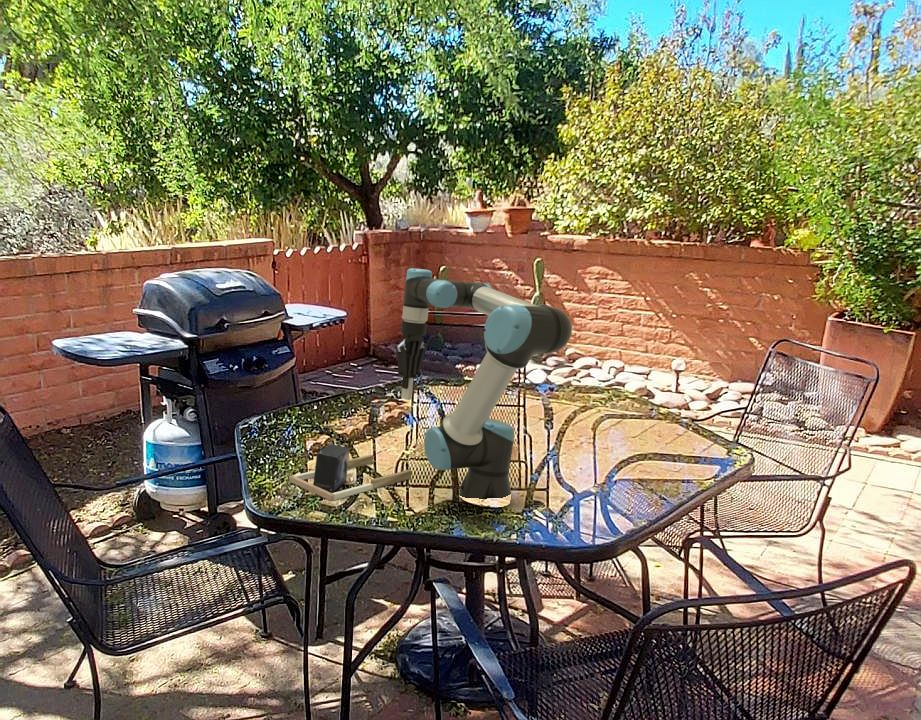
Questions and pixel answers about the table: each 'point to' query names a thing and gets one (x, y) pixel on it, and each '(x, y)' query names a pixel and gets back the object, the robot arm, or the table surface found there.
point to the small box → (331, 467)
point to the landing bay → (300, 482)
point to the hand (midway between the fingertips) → (406, 398)
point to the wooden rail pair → (381, 480)
